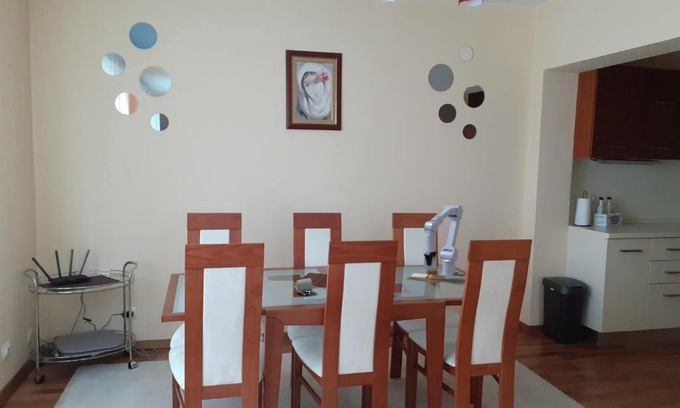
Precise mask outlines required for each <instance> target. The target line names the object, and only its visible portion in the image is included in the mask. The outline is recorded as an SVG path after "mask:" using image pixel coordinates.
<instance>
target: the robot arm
mask: <svg viewBox="0 0 680 408" xmlns="http://www.w3.org/2000/svg"><path fill="white" fill-rule="evenodd" d="M463 209H464V208H463V207H462V205H456V204H455V205H454V204H446V205H445V206H444V208H443V210H442V212H441V213H439V214H435V215H434V217H433V218H431V219H430V221H426V222H425V223H424V226H423V230H424V234H425V248H423V251H425V253H424V254H423V256H424V258H426V262H427V266H431V263H432V258H433V257H437V253H438V251H437V250H436V249H437V248H436V247H437V246H436V244H437V241H436V239H437V232H438V230H439V227H440V226H441V225H442V224H443V223H444V220H445V219H447V218H448V219H449V220H450V226H449V230H448V235H447V239H446V245H443V247H442V248H441V250H440V252H439V257H440V260H441V261H442V275H443V276H454V275H455V273H456V262H457V260H458V259H459V255H458V253H459V250H458V248H457V247H456V242H457V237H458V233H459V227H460V223H461V220H462V219H463V213H464V210H463Z"/></svg>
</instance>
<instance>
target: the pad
mask: <svg viewBox="0 0 680 408" xmlns="http://www.w3.org/2000/svg"><path fill="white" fill-rule="evenodd" d="M428 275H430V274H427V273H418V272H417V273H416V272H414V273H412V274H411V275H410V276H409V277H417V278H426V277H427V276H428Z"/></svg>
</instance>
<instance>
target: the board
mask: <svg viewBox="0 0 680 408" xmlns="http://www.w3.org/2000/svg"><path fill="white" fill-rule="evenodd" d="M430 275H431V274H429V275H428V276H427V277H426V278H417V277H410V276H409V277H407V278H406V279H405V280H407V281H417V282H425V283H426V282H427V283H437V284H440V283H441V282H442V281H443V280H445V278H446V276H447V275H437V274H433V275H434V279H433V280H431V279H430V278H429V276H430Z"/></svg>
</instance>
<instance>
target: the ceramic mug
mask: <svg viewBox="0 0 680 408" xmlns="http://www.w3.org/2000/svg"><path fill="white" fill-rule="evenodd" d="M294 287H295V291H296V290H297V292H300V293H302V292H306V291H310V293H311V291H312V292H313V288H314V287H313V281H312V278H303V279H299V280H296V281H295V286H294ZM297 292H296V293H297ZM302 294H305V293H302ZM311 294H312V293H311Z"/></svg>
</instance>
